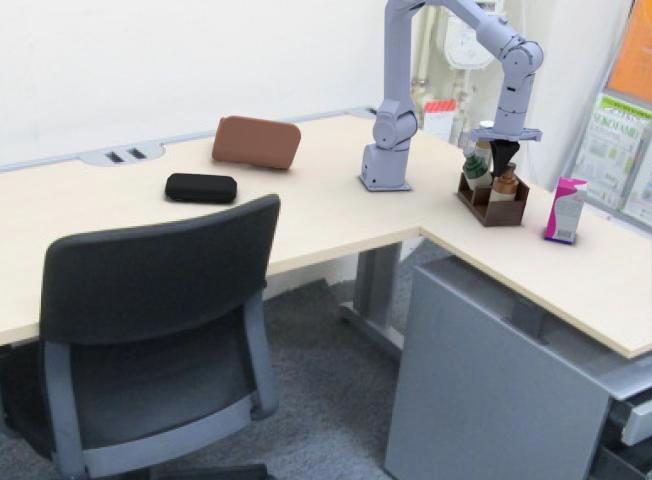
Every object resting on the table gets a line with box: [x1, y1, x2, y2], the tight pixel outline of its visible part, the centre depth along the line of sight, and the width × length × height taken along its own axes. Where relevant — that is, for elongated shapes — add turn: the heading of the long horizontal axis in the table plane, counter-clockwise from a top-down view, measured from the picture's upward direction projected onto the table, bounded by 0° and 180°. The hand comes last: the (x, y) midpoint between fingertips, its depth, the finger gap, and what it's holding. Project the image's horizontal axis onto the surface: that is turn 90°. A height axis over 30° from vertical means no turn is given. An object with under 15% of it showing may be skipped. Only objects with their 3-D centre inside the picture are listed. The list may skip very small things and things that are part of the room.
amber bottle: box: [487, 161, 519, 208], centre depth 183 cm, size 5×5×10 cm
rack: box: [456, 170, 531, 227], centre depth 187 cm, size 8×16×8 cm, turn 12°
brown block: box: [211, 114, 302, 170], centre depth 200 cm, size 16×17×15 cm
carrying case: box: [164, 172, 238, 204], centre depth 185 cm, size 11×3×15 cm
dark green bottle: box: [462, 146, 493, 195], centre depth 188 cm, size 5×5×10 cm
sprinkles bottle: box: [474, 120, 494, 171], centre depth 198 cm, size 5×5×13 cm
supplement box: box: [543, 176, 589, 245], centre depth 178 cm, size 6×6×12 cm
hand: (497, 175), depth 181 cm, fingers closed
